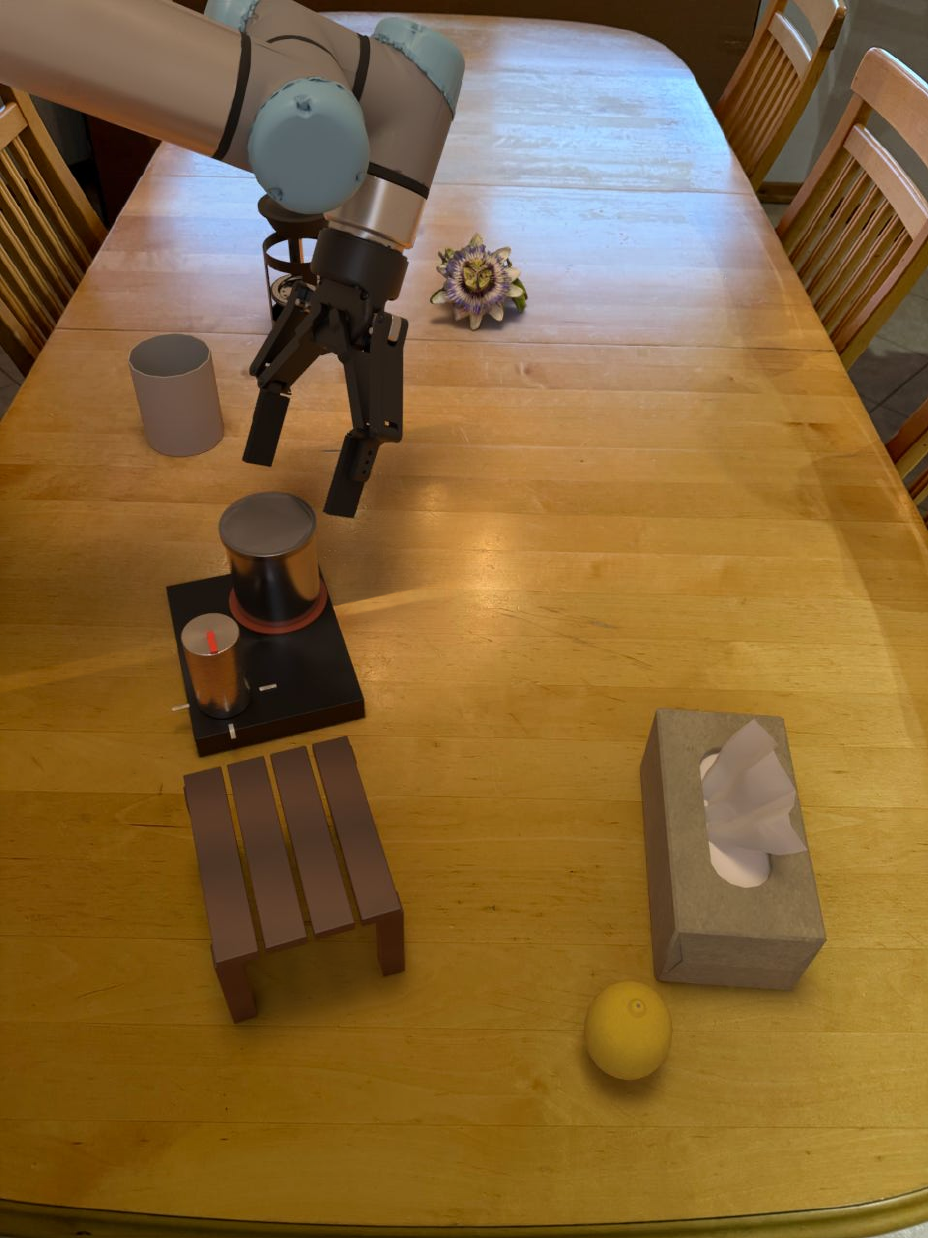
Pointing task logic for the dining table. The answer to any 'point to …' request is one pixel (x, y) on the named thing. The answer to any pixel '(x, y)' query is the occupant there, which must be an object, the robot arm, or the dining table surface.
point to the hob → (271, 674)
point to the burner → (278, 630)
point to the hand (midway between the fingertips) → (295, 488)
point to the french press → (292, 230)
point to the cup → (177, 394)
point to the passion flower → (478, 282)
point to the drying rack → (273, 867)
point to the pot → (272, 557)
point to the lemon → (628, 1030)
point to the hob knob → (217, 665)
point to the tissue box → (727, 852)
